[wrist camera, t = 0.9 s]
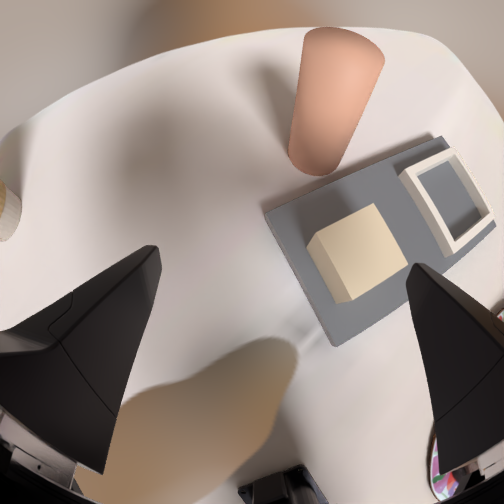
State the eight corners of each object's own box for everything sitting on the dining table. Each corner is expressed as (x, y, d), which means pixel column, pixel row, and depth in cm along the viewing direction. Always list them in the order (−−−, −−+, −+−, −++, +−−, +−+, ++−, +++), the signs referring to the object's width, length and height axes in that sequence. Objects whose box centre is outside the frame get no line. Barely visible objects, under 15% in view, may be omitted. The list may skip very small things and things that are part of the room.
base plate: (488, 229, 24) (518, 214, 18) (331, 345, 22) (353, 352, 16) (435, 142, 26) (458, 116, 21) (265, 219, 24) (266, 191, 19)
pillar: (341, 179, 25) (392, 80, 13) (286, 172, 25) (305, 63, 13) (338, 135, 26) (375, 36, 14) (288, 129, 27) (302, 22, 14)
